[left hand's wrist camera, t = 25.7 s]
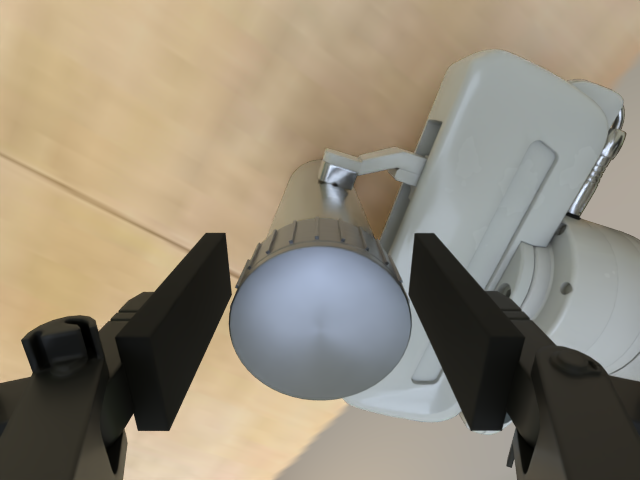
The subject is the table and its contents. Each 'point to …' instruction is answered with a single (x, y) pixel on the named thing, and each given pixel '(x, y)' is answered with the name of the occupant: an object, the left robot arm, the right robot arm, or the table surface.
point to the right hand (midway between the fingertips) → (304, 219)
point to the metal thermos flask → (317, 201)
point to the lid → (320, 311)
